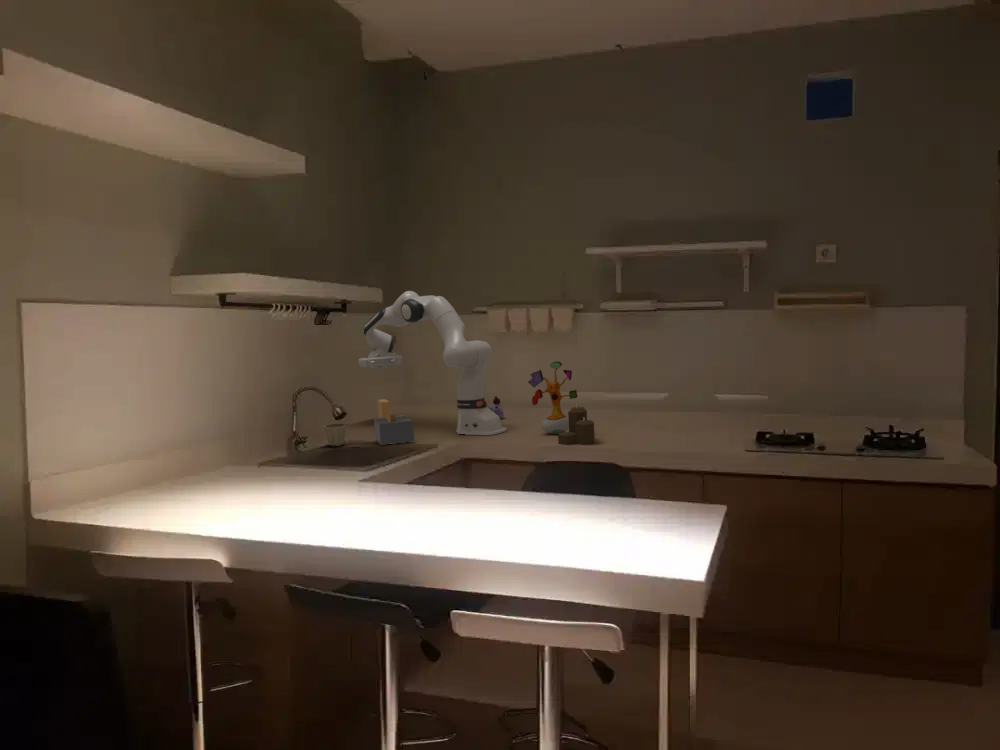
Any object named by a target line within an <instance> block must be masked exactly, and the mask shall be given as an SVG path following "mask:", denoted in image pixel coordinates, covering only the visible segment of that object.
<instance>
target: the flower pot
mask: <svg viewBox="0 0 1000 750" xmlns="http://www.w3.org/2000/svg"><path fill="white" fill-rule="evenodd" d="M323 428H324V430H325V433H326V438H327V443H328V445H329V444H334V445H335V444H341V443H344V444H345V438H346V437H345V436H346V429H347V423H344V422H343V423H340V422H338V423H329V424H324V425H323Z"/></svg>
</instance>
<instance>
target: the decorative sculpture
mask: <svg viewBox="0 0 1000 750" xmlns="http://www.w3.org/2000/svg"><path fill="white" fill-rule="evenodd" d="M562 365H563V363H562V362H560V361H559V360H558V361H557V360H556V361H553V362H551V363H550V364H549V366H550V368H552V369H555V370H554V381H552V382H551V381H549V380H548V379H547V378H546V377H544V376H543V372H542V370H541V369H540V370H538V371H537V370H536V371H535V372H532V373H530V374H529V375H530V377H531V379H529V380H528V381H527V383H528V384H529V385H531V387H532V388H536V386H538V385H539V384H541V383H542V382H543V381H545V382H546V389H545V390H544V391H542V390H541V389H537V390H536V391H535V392H534V395H533V396H532V398H531V403H532V405H533V406H537V404H538V402H539V399H542V398H543V397H544V395H543V394H545V393H548V394H549V396H550V400H551V404H552V411H551V414H550V415H549V416H548V417H546V418H544V419H542V420H541V422H540V426H541V427H540V428H541V430H542V431H544V432H545V433H547V434H551V435H559V433H563V432H567V431H569V417H568V416H567V415H565V414H564V413H563V411H562V408H561V400H562V399H563V398H564V397H569V399H577V398H578V391H577V389H575V390H570V391H568V394H564V395H562V394H561V392H560V391H561V389H560V388H561V387H562V385H564V384H565V381H566V380H567V379H568V381H569V382H570V381H571V380H572V377H573V376H572V375H573V374H572V372H573V370H570V369H563V370H562V371H563V372H564V374H565V375H566V377H565V378H564V379H563V381H562V383H560V382H558V380H557V370H558V369H559V368H560V367H562Z"/></svg>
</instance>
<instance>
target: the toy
mask: <svg viewBox="0 0 1000 750" xmlns="http://www.w3.org/2000/svg"><path fill="white" fill-rule="evenodd" d="M492 403H493V404H494V405H493V406H488V405H487V407H488V408H489V409H490V410H492V411H493V412H494V413H495V414H496V415H498V416H499V418H500V420H502V419H503V418H504V416H505V413H504V408H503V406H501V405H500V404H501V399H500V398H499V397H498V396H497V395H494V398H493V400H492Z"/></svg>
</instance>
